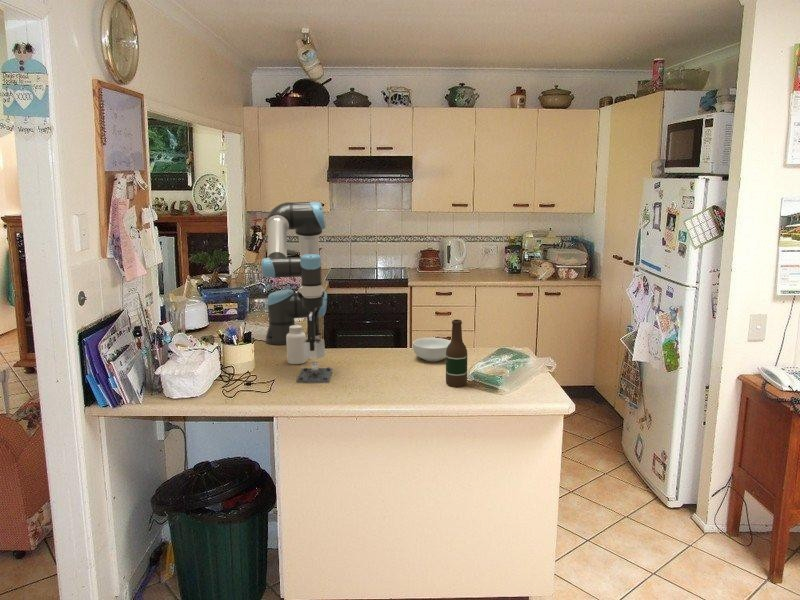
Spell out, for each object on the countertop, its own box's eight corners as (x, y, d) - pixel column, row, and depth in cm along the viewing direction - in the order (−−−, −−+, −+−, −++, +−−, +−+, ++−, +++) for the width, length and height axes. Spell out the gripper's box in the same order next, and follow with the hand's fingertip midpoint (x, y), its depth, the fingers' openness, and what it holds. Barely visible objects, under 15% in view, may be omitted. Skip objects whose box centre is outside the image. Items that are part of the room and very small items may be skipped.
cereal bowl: (441, 367, 252) (442, 350, 250) (405, 361, 260) (405, 344, 259) (459, 356, 266) (460, 340, 265) (424, 351, 274) (424, 335, 273)
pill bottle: (308, 359, 264) (307, 324, 261) (304, 365, 256) (302, 329, 253) (290, 358, 265) (288, 324, 262) (284, 364, 257) (283, 328, 254)
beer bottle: (441, 383, 232) (441, 320, 227) (456, 379, 237) (456, 316, 232) (456, 389, 226) (456, 323, 222) (471, 384, 231) (472, 320, 226)
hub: (305, 353, 244) (305, 338, 242) (325, 353, 244) (324, 338, 242) (302, 358, 236) (302, 343, 235) (323, 358, 236) (322, 343, 235)
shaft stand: (302, 370, 249) (301, 357, 248) (332, 370, 249) (332, 357, 247) (296, 382, 235) (295, 368, 234) (328, 382, 235) (328, 368, 234)
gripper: (306, 291, 245) (308, 348, 250) (297, 301, 225) (300, 363, 230) (325, 291, 245) (327, 348, 250) (318, 301, 225) (320, 363, 230)
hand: (314, 355), depth 240 cm, fingers closed on hub, 7 cm apart
